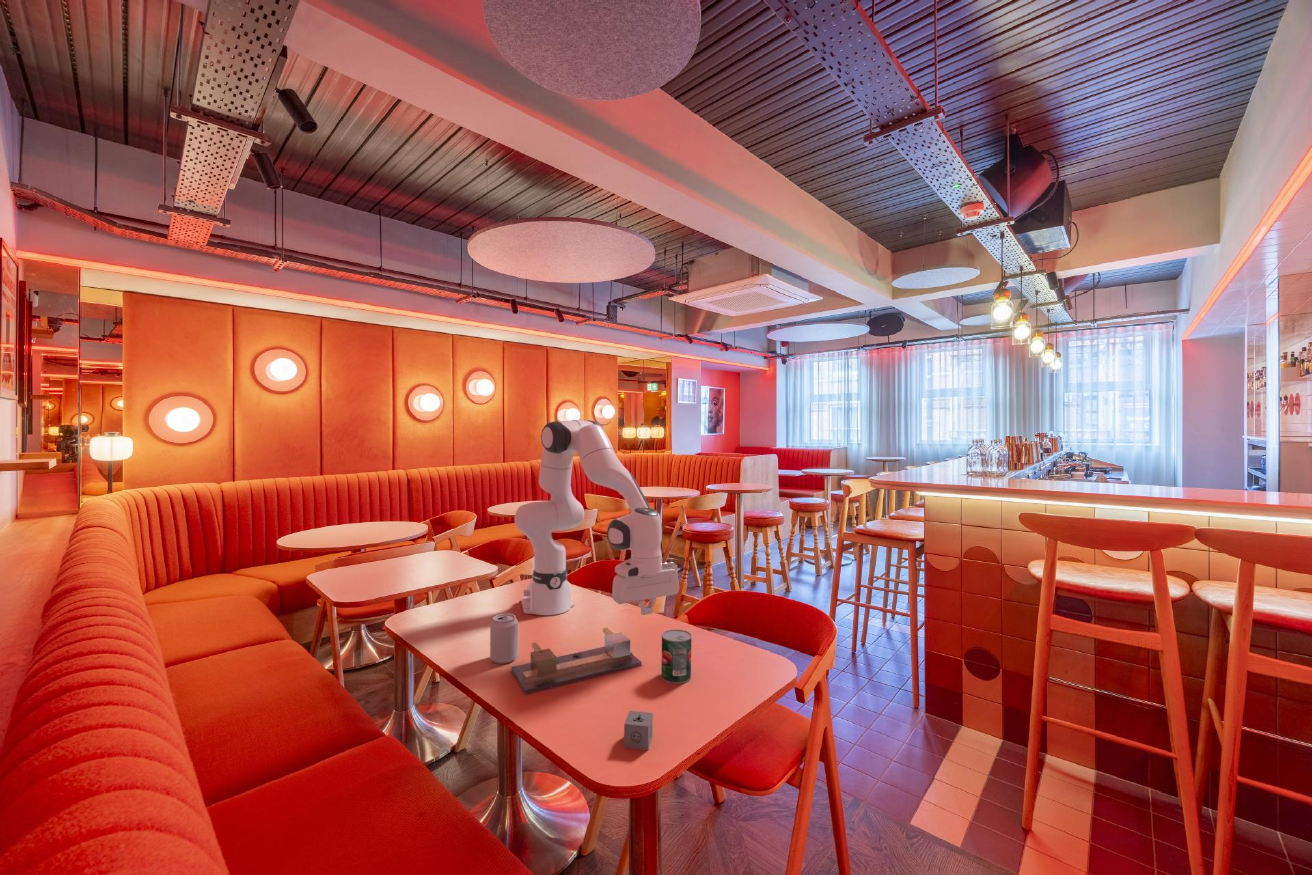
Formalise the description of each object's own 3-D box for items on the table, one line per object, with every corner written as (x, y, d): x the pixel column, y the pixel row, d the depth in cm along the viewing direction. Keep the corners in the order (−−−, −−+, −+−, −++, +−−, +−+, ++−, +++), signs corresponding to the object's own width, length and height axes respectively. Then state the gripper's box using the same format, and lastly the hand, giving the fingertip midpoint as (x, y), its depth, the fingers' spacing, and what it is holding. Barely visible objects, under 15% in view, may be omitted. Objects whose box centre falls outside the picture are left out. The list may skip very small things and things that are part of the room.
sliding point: (596, 647, 148) (596, 629, 148) (612, 644, 151) (612, 625, 151) (613, 663, 138) (613, 643, 138) (630, 659, 141) (630, 639, 141)
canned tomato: (655, 675, 135) (655, 633, 135) (678, 666, 140) (678, 626, 140) (674, 687, 129) (674, 643, 128) (697, 678, 133) (697, 636, 133)
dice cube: (624, 748, 104) (624, 723, 104) (629, 733, 109) (629, 710, 109) (648, 750, 103) (648, 726, 103) (652, 736, 108) (652, 712, 108)
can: (509, 650, 149) (509, 609, 149) (522, 659, 144) (523, 616, 143) (485, 658, 144) (485, 616, 143) (498, 667, 138) (498, 623, 138)
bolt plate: (511, 670, 137) (511, 646, 137) (619, 646, 152) (619, 624, 152) (525, 694, 124) (525, 667, 124) (641, 665, 140) (641, 641, 140)
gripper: (671, 558, 154) (671, 604, 154) (609, 567, 144) (609, 616, 144) (683, 563, 149) (683, 610, 149) (619, 572, 138) (619, 623, 138)
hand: (646, 613), depth 146 cm, fingers closed
